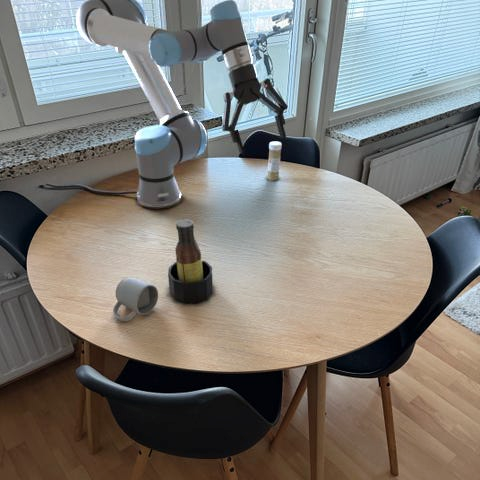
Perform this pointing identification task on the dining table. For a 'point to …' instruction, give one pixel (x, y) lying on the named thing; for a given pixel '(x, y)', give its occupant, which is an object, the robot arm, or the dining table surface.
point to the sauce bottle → (188, 253)
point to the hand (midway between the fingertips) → (263, 145)
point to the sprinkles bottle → (274, 160)
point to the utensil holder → (191, 286)
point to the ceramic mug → (135, 297)
